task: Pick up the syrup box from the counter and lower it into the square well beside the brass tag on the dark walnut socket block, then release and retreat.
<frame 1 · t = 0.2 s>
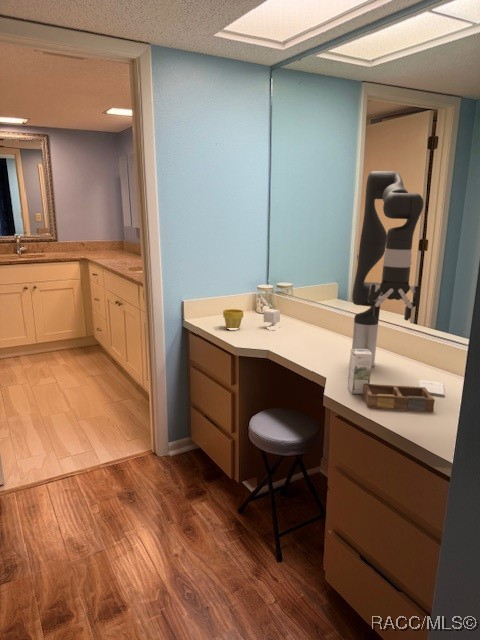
hand: (391, 319, 134), 28 cm above the worktop, fingers open, 8 cm apart
plant pot: (232, 329, 235), on the worktop
external hard drive: (430, 391, 158), on the worktop
syrup box: (357, 392, 153), on the worktop
security camera: (271, 329, 237), on the worktop
socket block: (396, 403, 144), on the worktop
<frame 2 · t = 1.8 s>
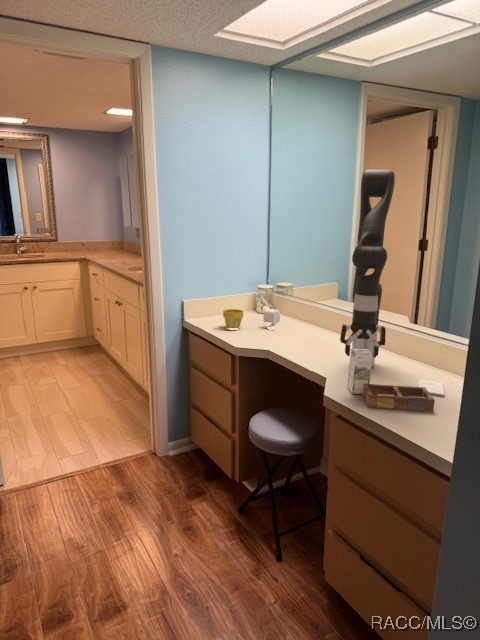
hand: (361, 356, 150), 13 cm above the worktop, fingers open, 8 cm apart
nothing on the worktop moved.
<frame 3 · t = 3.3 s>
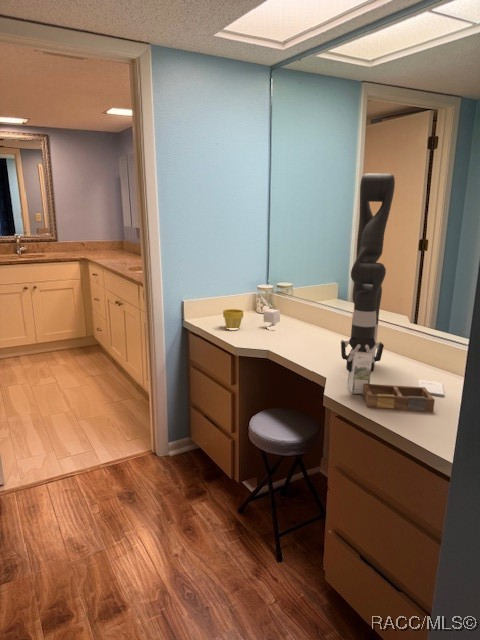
hand: (359, 371, 152), 7 cm above the worktop, fingers closed on syrup box, 6 cm apart
syrup box: (357, 392, 153), on the worktop, touching gripper
everything else where it was.
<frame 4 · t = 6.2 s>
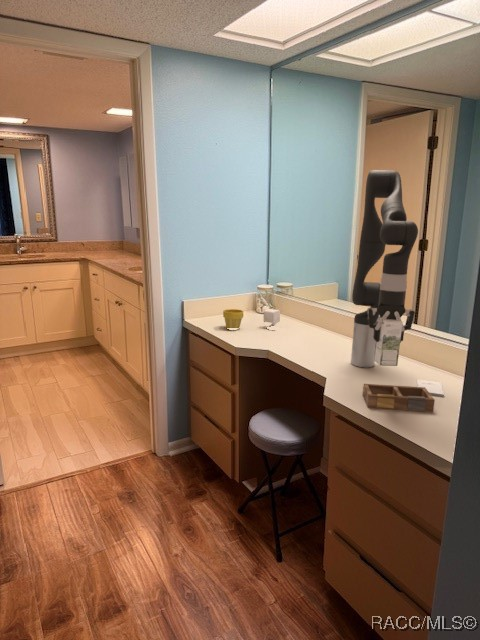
hand: (387, 341, 141), 20 cm above the worktop, fingers closed on syrup box, 6 cm apart
syrup box: (385, 364, 142), point 13 cm above the worktop, touching gripper
everything else where it was.
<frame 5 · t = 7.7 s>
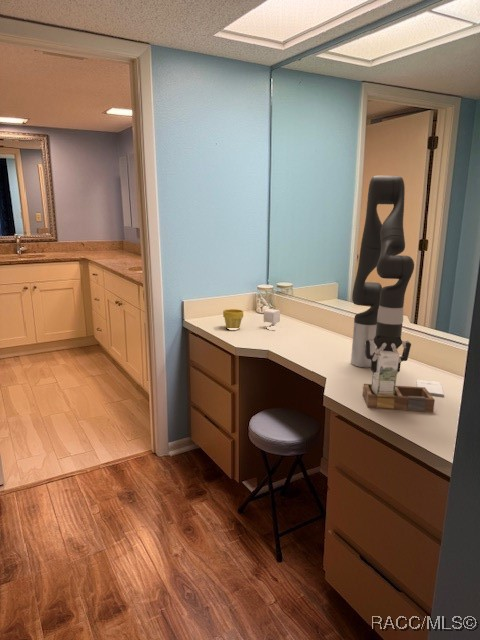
hand: (384, 372, 143), 10 cm above the worktop, fingers closed on syrup box, 6 cm apart
syrup box: (382, 394, 144), point 3 cm above the worktop, touching gripper
everything else where it was.
when the fingers open (8 cm above the worktop, at t = 9.1 s): syrup box drops 1 cm, resting in socket block.
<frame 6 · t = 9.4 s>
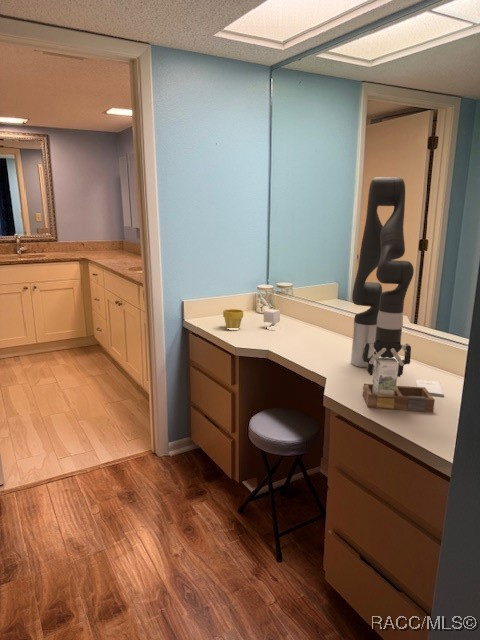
hand: (384, 375, 143), 9 cm above the worktop, fingers open, 8 cm apart
syrup box: (382, 402, 145), resting in socket block
everything else where it was.
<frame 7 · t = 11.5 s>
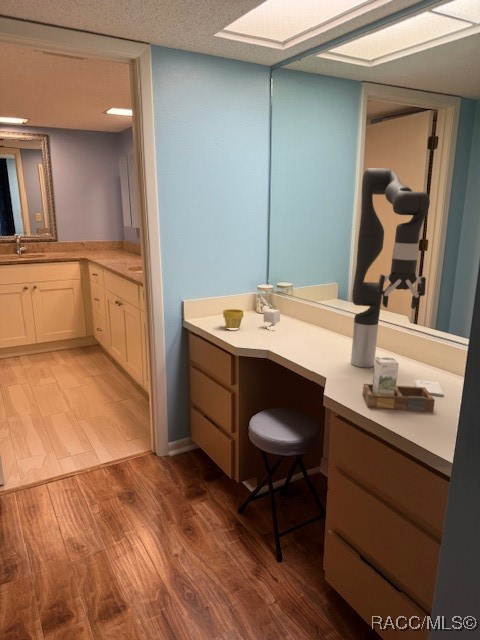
hand: (399, 307, 146), 29 cm above the worktop, fingers open, 8 cm apart
nothing on the worktop moved.
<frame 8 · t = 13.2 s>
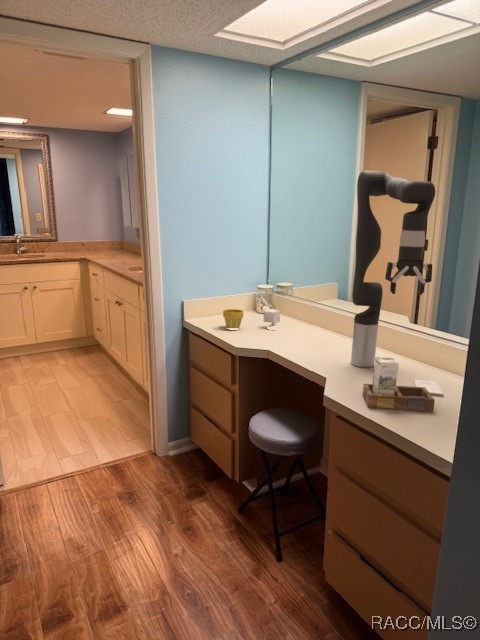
hand: (406, 294, 150), 33 cm above the worktop, fingers open, 8 cm apart
at the end: syrup box 0.2 cm from the target spot on the socket block, point 0.0 cm above the socket block's base; syrup box tilted 0°; the gripper is holding nothing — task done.
